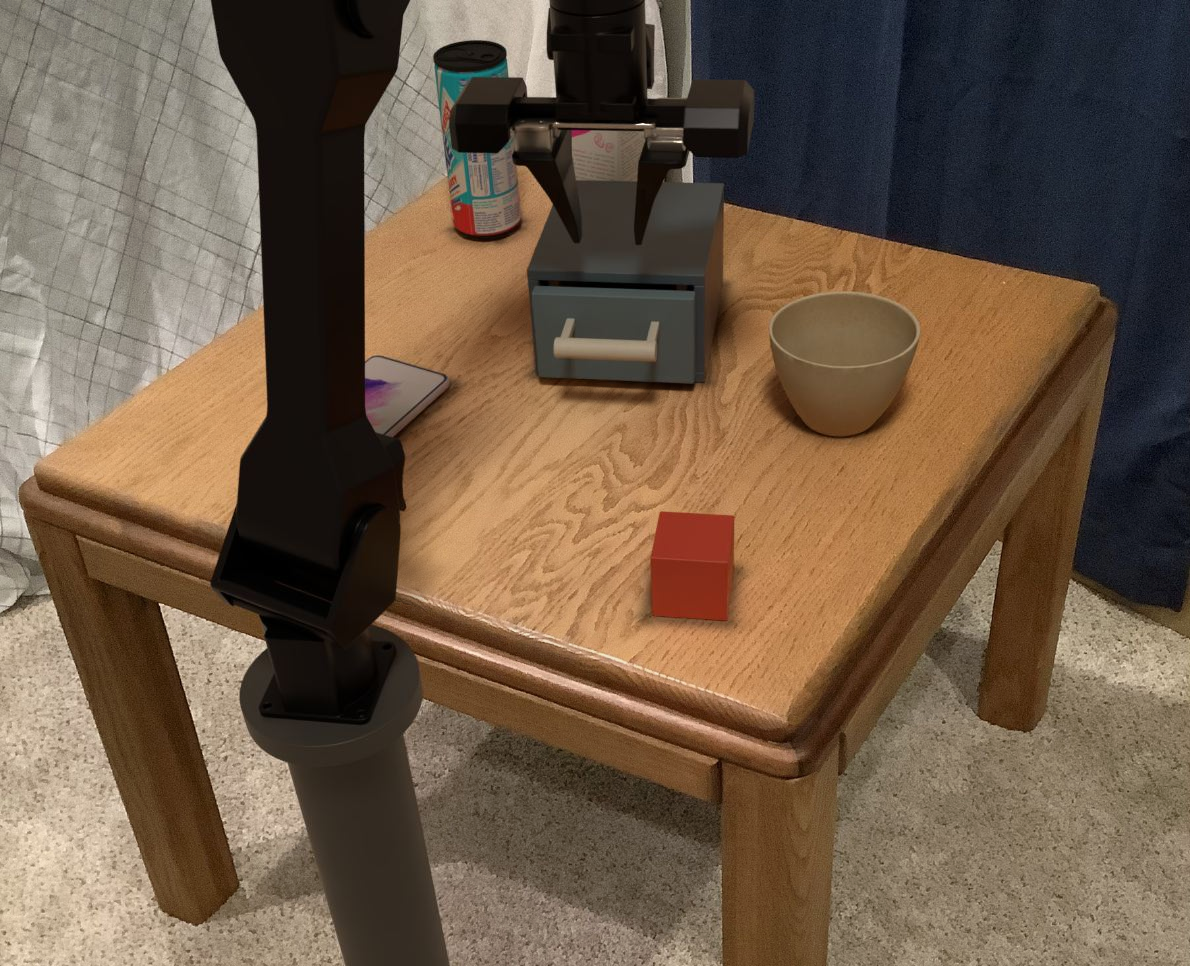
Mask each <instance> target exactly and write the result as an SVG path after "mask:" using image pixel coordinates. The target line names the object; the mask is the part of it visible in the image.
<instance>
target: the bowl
mask: <svg viewBox="0 0 1190 966" xmlns="http://www.w3.org/2000/svg"><path fill="white" fill-rule="evenodd" d="M920 325H921V324H920V322H919V320H918V319H917V317H916V316H915V314H914V313H913V312H911V311H910V310H909V308H907V307H905V306H904V305H903V304H901V303H899V302H897V301H894V300H893V299H890V298H887V297H884V296H881V295H878V294H873V293H867V292H862V291H851V290H850V291H849V290H848V291H847V290H845V291H844V290H839V291H837V290H836V291H835V290H834V291H825V292H818V293H813V294H809V295H806V296H803V297H799V298H797V299H795V300H792V301H789V302H788V303H786V304H785V305H783V306H781V307H780V308H779V309H778V310H777V311H776V312H775V313H774V314H773V316H772V317H771V319H770V321H769V324H768V335H769V336H768V337H769V343H770V349H771V355H772V359H773V363H774V366H775V371H776V373H777V375H778V378H779V381H780V383H781V386H782V388H783V390H784V393H785V394H786V396H787V398H788V400H789V402H790V404H791V406H792V407H793V409H794V410H795V412H796V413H797V415H798V416H799V418H800V419H801V420H802V422H803V423H804V424H805V425H806V427H808V428H809V429H811V430H813V431H814V432H816V433H819V434H822V435H824V436H831V437H849V436H854V435H858V434H861V433H862V432H865V431H867V430H868V429H870V428H871V427H872V426H873V425H874V424H875V423H876V421H877V420H878V419H880V417H881V416H882V415H883V414H884V412H885V411H886V410H887V408H888V407H889V406H890V404H891V403H892V402H893V400H894V399H895V397H896V395H897V394H898V392H899V391H900V389H901V387H902V385H903V383H904V381H905V379H906V377H907V375H908V373H909V371H910V368H911V366H912V364H913V361H914V358H915V355H916V352H917V348H918V345H919V341H920V337H921V326H920Z"/></svg>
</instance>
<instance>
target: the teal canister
mask: <svg viewBox="0 0 1190 966" xmlns="http://www.w3.org/2000/svg"><path fill="white" fill-rule="evenodd" d="M507 52H508V51H507V49H506V47H505V46H504V45H502V44H501V43H498V42H495V41H491V40H485V39H484V40H482V39H471V40H469V39H468V40H461V41H457V42H452V43H449V44H446V45H443V46H441V47H439V48H438V49H437V50H436V51H434V53H433V56H432V59H433V64H434V67H433V68H434V75H435V86H436V93H437V101H438V111H439V118H440V119H439V120H440V128H441V137H442V144H443V151H444V159H445V167H446V174H447V184H448V191H449V199H450V207H451V216H452V223H453V226H454V228H455V230H456V232H458V234H459V235H461V236H462V237H464V238H466V239H469V240H473V241H483V242H484V241H494V240H495V241H496V240H499V239H502V238H505V237H506V238H507V237H508V236H510V235H511V234H513V233H515V232H516V231H517V230H518V228H519V226H520V223H521V219H522V212H521V204H520V203H521V201H520V191H519V189H520V188H519V179H518V178H519V177H518V167H517V165H514V164H513V162H512V154H513V152H514V149H515V143H514V133H513V131H511V129H510V135H511V138H510V140H509V142H508V143H507V144H506V145H505V146H504V147H503V148H502V150H501V151H500V152H499V153H458V152H457V151H455V150H453V149H452V145H451V137H450V129H449V117H450V110H451V108H452V107H453V105H454V103H455V101H456V100H457V98H458V96H459V95H460V93H461V91H462V89H463V88H464V86H465V85H466V84H467V83H468V81H469V80H470V79H471V78H472V77H510V76H509V75H510V74H509V67H508V65H509V64H508V58H507V56H508V53H507Z"/></svg>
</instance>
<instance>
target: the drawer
mask: <svg viewBox="0 0 1190 966" xmlns="http://www.w3.org/2000/svg"><path fill="white" fill-rule="evenodd" d="M532 305H533V317H534V328H535V339H536V351H537V362H538V374H539V375H538V377H539V378H550V379H551V378H552V379H554V378H557V379H574V380H575V379H576V380H598V381H601V380H602V381H622V382H642V383H643V382H645V383H646V382H647V383H648V382H649V383H669V384H690V385H693V384H695V382H694V381H695V375H696V312H695V291H694V285H670V284H640V283H610V282H580V281H549V280H548V286H534V289H533V292H532Z"/></svg>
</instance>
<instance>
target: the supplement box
mask: <svg viewBox="0 0 1190 966" xmlns="http://www.w3.org/2000/svg"><path fill="white" fill-rule="evenodd" d="M647 99H651V98H649V97H647ZM644 142H645V139H644V131H593V130H572V158H573V164H574V171H575V177H576V180H592V181H636V182H637V174H638V161H639V158H640V155H641V152H642V149H643V145H644Z"/></svg>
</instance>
